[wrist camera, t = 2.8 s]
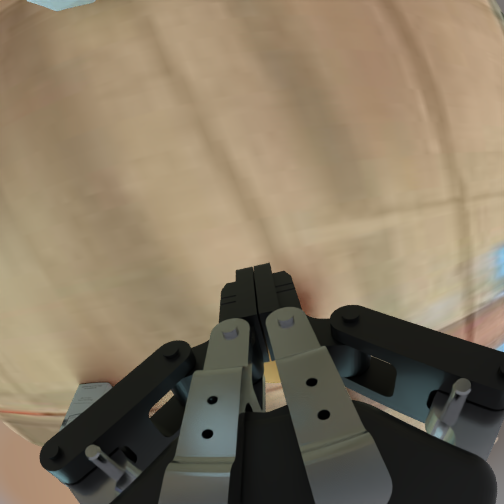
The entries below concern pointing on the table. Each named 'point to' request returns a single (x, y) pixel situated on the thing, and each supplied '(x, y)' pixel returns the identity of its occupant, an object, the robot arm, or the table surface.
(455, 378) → the robot arm
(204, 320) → the table surface
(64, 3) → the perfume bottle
